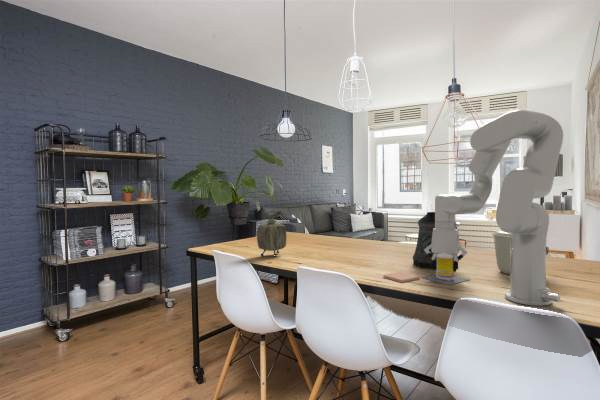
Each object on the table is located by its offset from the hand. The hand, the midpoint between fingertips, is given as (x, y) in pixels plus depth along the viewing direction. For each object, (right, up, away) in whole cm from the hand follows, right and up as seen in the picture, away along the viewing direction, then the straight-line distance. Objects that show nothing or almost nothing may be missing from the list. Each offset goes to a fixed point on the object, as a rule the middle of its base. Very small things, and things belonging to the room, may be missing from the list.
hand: (445, 269), depth 140 cm
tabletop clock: (-73, -3, +54) cm, 91 cm away
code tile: (0, -4, 0) cm, 4 cm away
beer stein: (+5, -3, +24) cm, 25 cm away
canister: (+33, -3, +8) cm, 34 cm away
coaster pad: (-17, -4, +3) cm, 17 cm away
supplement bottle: (0, -4, 0) cm, 4 cm away
